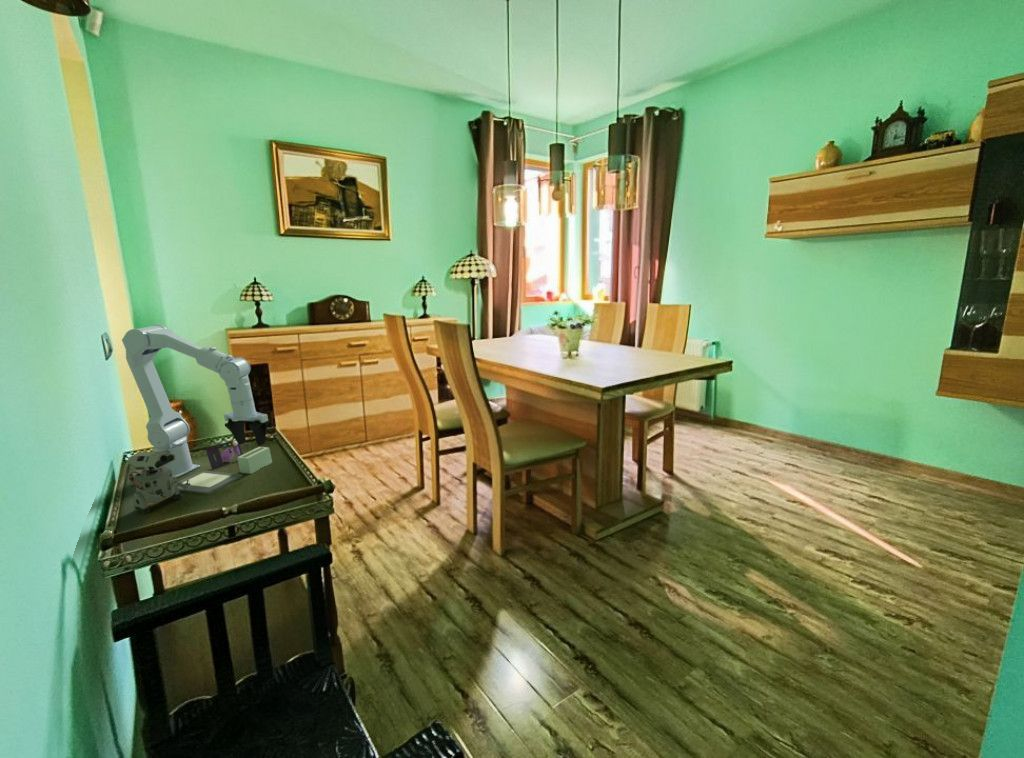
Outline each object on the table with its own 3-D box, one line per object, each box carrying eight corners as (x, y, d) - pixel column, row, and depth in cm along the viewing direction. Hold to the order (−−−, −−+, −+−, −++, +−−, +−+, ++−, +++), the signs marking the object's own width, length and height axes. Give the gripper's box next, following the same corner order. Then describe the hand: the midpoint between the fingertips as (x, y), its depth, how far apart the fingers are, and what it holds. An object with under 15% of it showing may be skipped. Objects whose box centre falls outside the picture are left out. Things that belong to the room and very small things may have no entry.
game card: (205, 448, 143) (238, 439, 149) (202, 450, 146) (234, 441, 153) (213, 469, 143) (245, 459, 149) (209, 471, 146) (240, 460, 153)
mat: (165, 489, 132) (165, 487, 132) (201, 472, 142) (201, 469, 142) (208, 494, 127) (207, 492, 127) (242, 476, 137) (242, 474, 137)
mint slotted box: (240, 473, 140) (237, 457, 139) (262, 461, 147) (259, 446, 146) (251, 474, 139) (247, 458, 137) (272, 462, 146) (269, 447, 145)
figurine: (156, 519, 116) (140, 462, 112) (133, 510, 121) (116, 456, 117) (195, 501, 124) (181, 448, 120) (171, 494, 129) (157, 442, 125)
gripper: (211, 403, 136) (221, 447, 140) (249, 405, 132) (259, 450, 135) (232, 396, 143) (241, 438, 146) (269, 397, 138) (278, 441, 141)
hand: (251, 443), depth 141 cm, fingers open, 7 cm apart
